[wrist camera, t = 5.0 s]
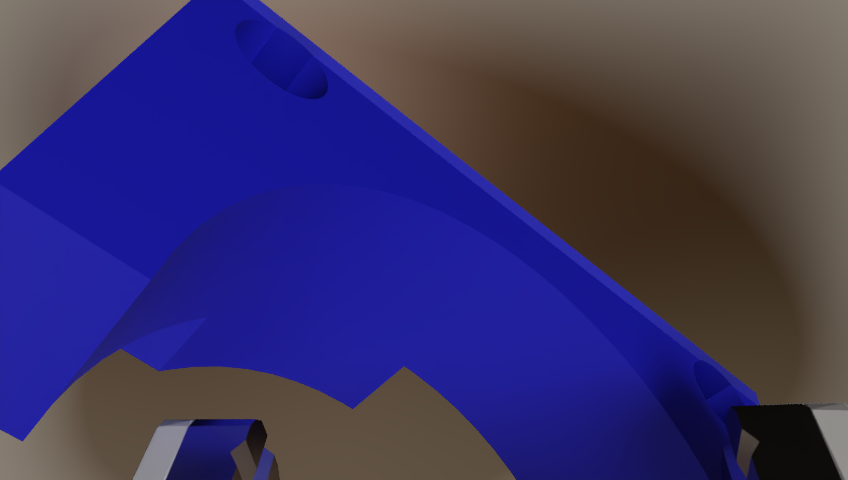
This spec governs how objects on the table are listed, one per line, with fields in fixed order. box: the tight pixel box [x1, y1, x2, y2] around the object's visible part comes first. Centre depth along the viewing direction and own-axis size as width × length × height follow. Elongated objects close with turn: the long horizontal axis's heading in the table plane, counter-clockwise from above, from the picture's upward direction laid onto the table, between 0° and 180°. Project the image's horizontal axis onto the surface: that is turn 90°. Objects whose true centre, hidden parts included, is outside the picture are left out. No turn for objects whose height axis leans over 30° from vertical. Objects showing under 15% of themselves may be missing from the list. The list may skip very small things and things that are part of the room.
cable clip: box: [0, 0, 760, 480], centre depth 12 cm, size 12×4×6 cm, turn 51°
